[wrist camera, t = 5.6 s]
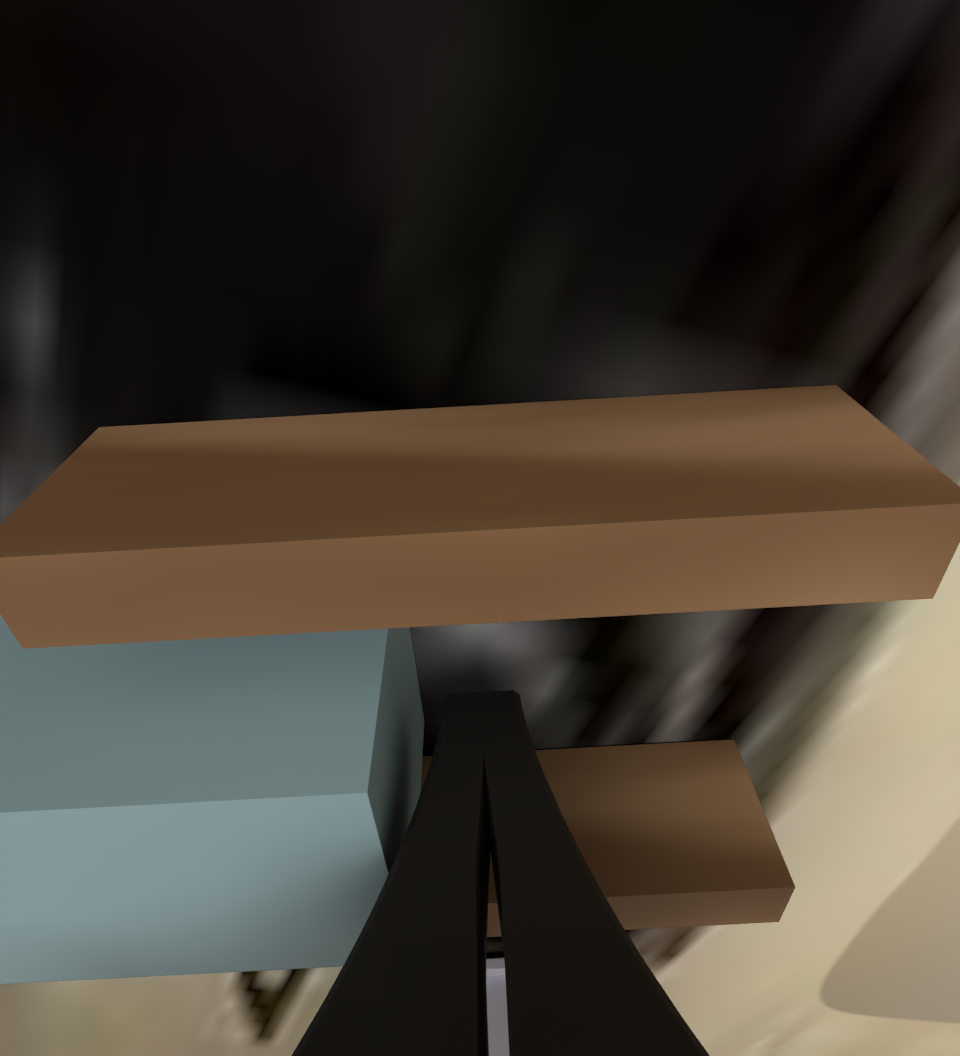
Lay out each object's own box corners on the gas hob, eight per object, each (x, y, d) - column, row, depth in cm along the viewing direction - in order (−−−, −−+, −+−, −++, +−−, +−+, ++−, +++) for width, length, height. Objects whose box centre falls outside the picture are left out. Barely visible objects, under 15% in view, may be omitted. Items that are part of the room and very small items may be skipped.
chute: (723, 775, 17) (778, 921, 14) (260, 800, 17) (220, 950, 14) (836, 385, 10) (978, 502, 8) (99, 426, 10) (-36, 560, 8)
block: (424, 720, 15) (411, 963, 11) (83, 738, 15) (-56, 986, 11) (398, 550, 12) (367, 793, 8) (-25, 573, 12) (-268, 827, 8)
